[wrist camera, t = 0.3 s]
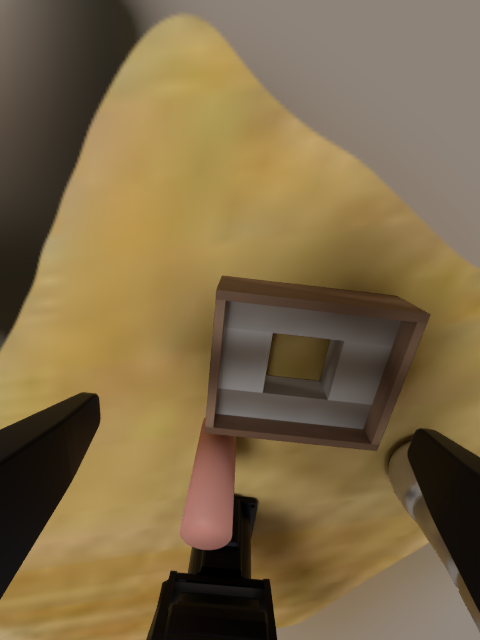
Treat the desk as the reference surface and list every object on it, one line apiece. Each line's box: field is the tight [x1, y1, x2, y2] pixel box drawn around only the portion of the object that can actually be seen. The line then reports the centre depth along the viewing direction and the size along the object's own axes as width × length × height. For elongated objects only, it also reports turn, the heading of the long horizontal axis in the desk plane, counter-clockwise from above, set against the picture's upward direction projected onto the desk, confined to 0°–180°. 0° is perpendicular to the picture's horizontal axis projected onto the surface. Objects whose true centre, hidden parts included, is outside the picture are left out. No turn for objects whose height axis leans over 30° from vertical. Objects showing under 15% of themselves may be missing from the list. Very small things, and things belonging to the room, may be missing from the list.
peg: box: [180, 418, 236, 550], centre depth 21 cm, size 3×3×9 cm
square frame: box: [205, 276, 430, 451], centre depth 20 cm, size 11×13×4 cm
